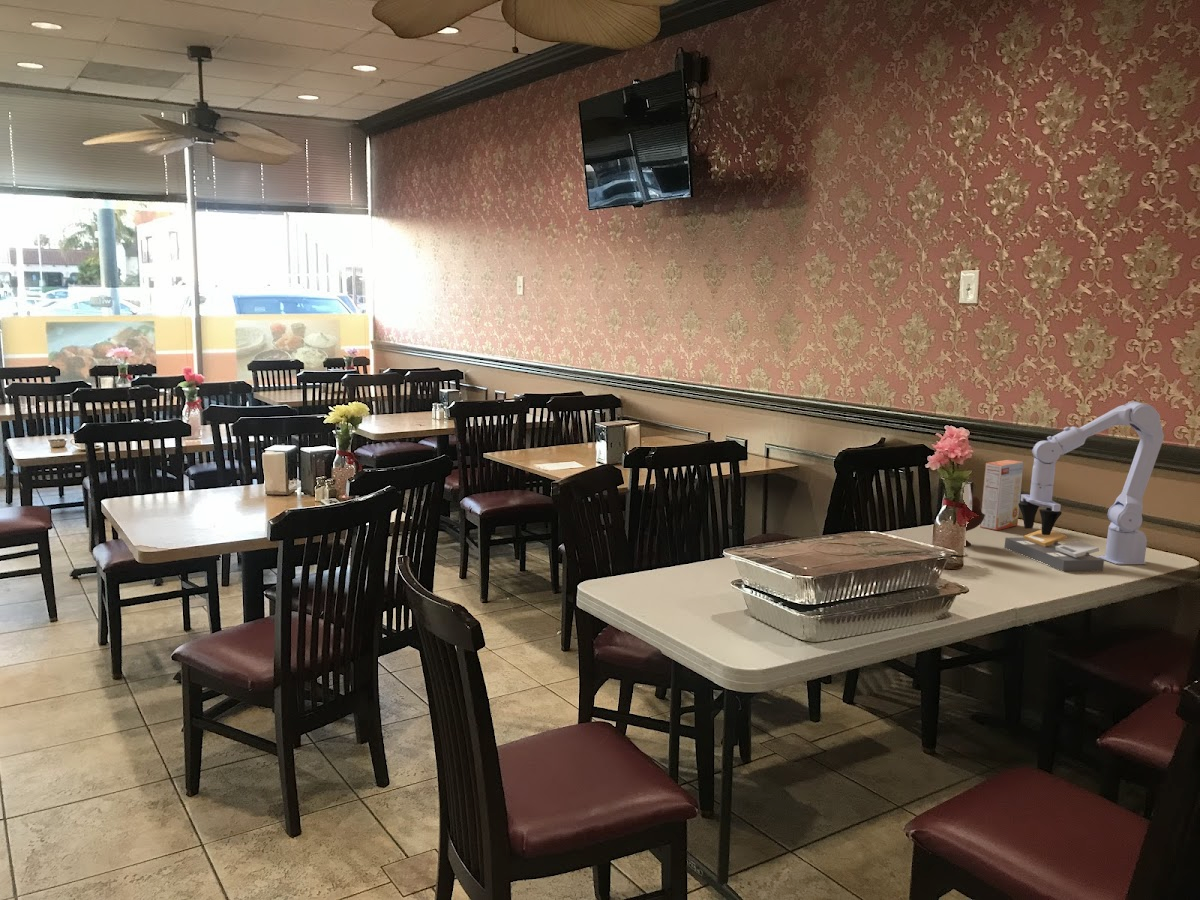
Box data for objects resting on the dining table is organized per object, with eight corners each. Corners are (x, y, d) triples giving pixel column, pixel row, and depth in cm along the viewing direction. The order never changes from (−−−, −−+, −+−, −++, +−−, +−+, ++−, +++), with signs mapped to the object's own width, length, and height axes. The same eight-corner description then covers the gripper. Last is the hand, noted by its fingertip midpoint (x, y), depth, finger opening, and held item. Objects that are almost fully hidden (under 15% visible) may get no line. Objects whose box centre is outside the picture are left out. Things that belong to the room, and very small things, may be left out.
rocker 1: (1046, 533, 273) (1045, 527, 273) (1067, 540, 265) (1066, 535, 264) (1024, 540, 272) (1023, 535, 272) (1045, 548, 264) (1044, 543, 263)
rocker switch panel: (1053, 547, 277) (1054, 536, 277) (1115, 570, 253) (1117, 559, 252) (1004, 547, 274) (1005, 536, 273) (1062, 571, 250) (1064, 559, 249)
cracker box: (1000, 522, 309) (1006, 458, 306) (1018, 526, 305) (1025, 461, 302) (978, 527, 300) (984, 461, 297) (996, 531, 296) (1003, 464, 293)
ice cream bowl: (974, 540, 281) (979, 490, 279) (985, 550, 270) (991, 498, 268) (937, 538, 282) (942, 488, 280) (947, 547, 271) (952, 495, 269)
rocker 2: (1078, 545, 260) (1077, 540, 260) (1099, 553, 253) (1098, 547, 252) (1055, 552, 259) (1055, 546, 259) (1075, 559, 252) (1075, 553, 251)
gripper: (1013, 479, 272) (1008, 525, 274) (1046, 488, 258) (1041, 537, 260) (1035, 479, 273) (1030, 525, 275) (1069, 488, 259) (1064, 537, 261)
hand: (1037, 531), depth 268 cm, fingers open, 7 cm apart
